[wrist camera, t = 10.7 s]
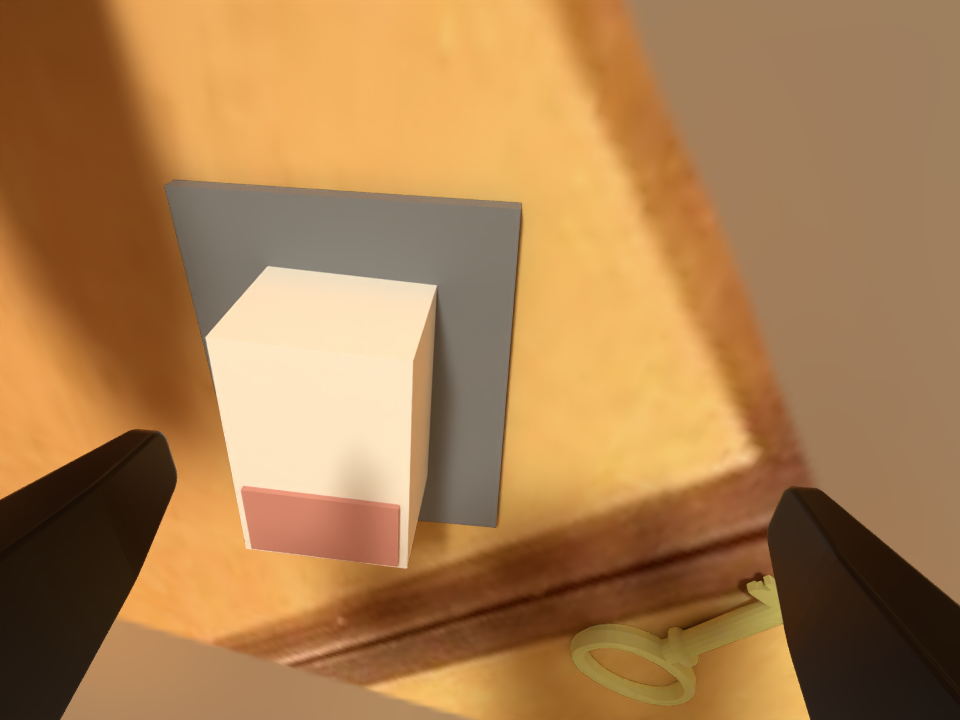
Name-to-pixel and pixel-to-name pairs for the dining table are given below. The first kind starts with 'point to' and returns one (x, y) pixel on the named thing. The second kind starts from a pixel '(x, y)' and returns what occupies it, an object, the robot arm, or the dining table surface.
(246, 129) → the dining table surface
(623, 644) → the key
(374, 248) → the mat
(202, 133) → the dining table surface
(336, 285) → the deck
